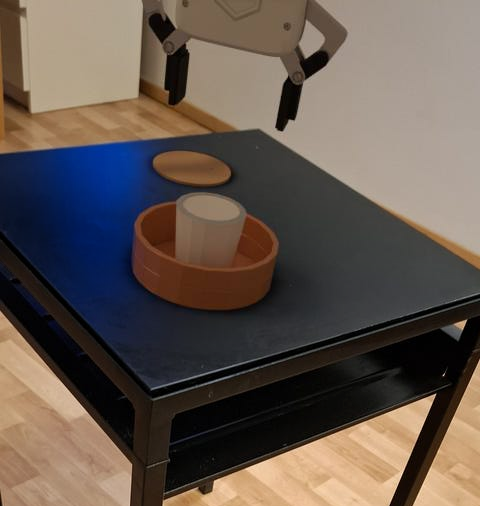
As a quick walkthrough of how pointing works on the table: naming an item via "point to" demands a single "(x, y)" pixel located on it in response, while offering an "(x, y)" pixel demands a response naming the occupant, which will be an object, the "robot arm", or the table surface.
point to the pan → (199, 277)
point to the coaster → (191, 168)
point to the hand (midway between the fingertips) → (228, 113)
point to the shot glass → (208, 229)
